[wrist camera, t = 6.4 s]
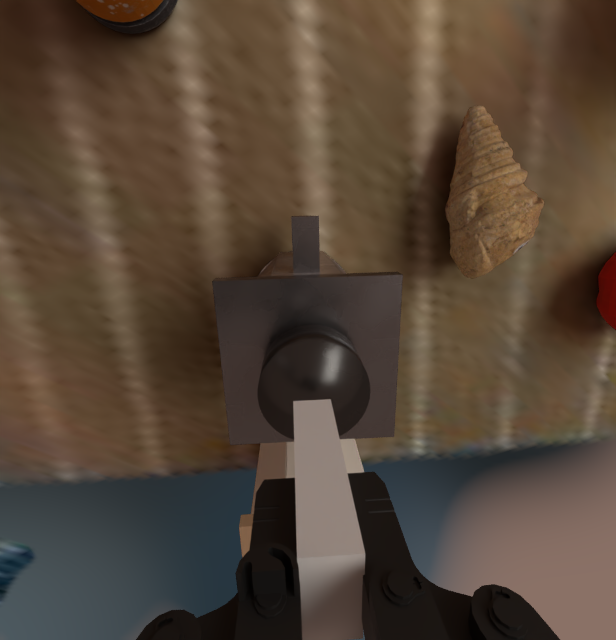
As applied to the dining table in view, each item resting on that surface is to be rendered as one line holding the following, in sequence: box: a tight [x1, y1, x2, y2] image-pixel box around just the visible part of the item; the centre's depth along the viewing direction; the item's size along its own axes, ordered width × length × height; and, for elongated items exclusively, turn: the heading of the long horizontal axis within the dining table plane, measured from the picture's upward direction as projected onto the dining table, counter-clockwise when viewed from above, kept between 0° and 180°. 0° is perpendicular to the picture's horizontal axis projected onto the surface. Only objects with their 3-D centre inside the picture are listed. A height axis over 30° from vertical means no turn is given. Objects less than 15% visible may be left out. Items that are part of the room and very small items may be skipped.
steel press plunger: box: [257, 324, 370, 440], centre depth 25 cm, size 7×7×16 cm
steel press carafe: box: [212, 216, 403, 445], centre depth 28 cm, size 10×14×16 cm
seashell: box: [445, 106, 544, 279], centre depth 30 cm, size 14×8×8 cm, turn 18°
